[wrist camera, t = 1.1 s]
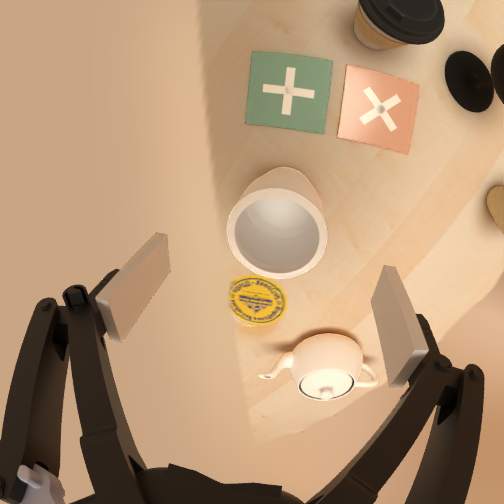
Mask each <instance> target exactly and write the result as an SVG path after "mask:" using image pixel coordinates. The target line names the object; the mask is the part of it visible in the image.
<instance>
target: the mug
mask: <svg viewBox="0 0 504 504" xmlns="http://www.w3.org/2000/svg"><path fill="white" fill-rule="evenodd" d="M486 202H487V207H488V209H489V211H490V213H491V215H492V216H493V218H494V220H495V222H496V224H497V226H498V227H499V229H500V230H501V232H502V233H503V234H504V187H502V186H495V187H493V188H492V189H491V190H490V191H489V193H488V195H487V200H486Z"/></svg>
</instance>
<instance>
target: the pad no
mask: <svg viewBox="0 0 504 504" xmlns="http://www.w3.org/2000/svg"><path fill="white" fill-rule="evenodd" d="M418 94H419V85H418V84H415V83H412V82H409V81H406V80H403V79H400V78H397V77H394V76H391V75H388V74H384V73H381V72H377V71H374V70H370V69H366V68H362V67H358V66H354V65H349V64H347V65H346V74H345V83H344V91H343V99H342V106H341V113H340V120H339V127H338V134H337V137H339V138H344V139H349V140H353V141H358V142H362V143H366V144H371V145H375V146H379V147H383V148H386V149H390V150H394V151H397V152H401V153H404V154H408V153H409V148H410V143H411V138H412V133H413V127H414V121H415V115H416V108H417V101H418Z"/></svg>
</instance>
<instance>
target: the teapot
mask: <svg viewBox="0 0 504 504" xmlns="http://www.w3.org/2000/svg"><path fill="white" fill-rule="evenodd" d="M283 368H290V374H291V377H292V379H293V381H294V383H295V385H296V387H297V389H298V391H299V392H300V393H301V394H302V395H304V396H305V397H307V398H310V399H313V400H321V401H326V400H334V399H338V398H341V397H343V396H345V395H347V394H348V393H350V392H351V391H352V390H353V388H354V387H374V386H376V385H377V384H378V382H379V378H378V375H377V373H376V372H375V371H374V370H373V369H372V368H371V367H369V366H368V365H366V364H365V363H363V353H362V350H361V348H360V346H359V345H358V344H357V343H356V342H355V341H353V340H352V339H350V338H349V337H346V336H344V335H339V334H332V333H324V334H318V335H315V336H312V337H309V338H307V339H305V340H303V341H302V342H301V343H299V344H298V345H297V346H296V347H295V348H294V350H293V351H292V352H288V353H285V354H283V355H282V356H281V357H279V359H278V360H277V362H276V364H275V366H274V367H273V369H272V370H271V371H269V372H268V373H265V374H261V375H259V377H260V378H264V379H272V378H274V377H276V376H277V375H278V373H279V372H280V370H281V369H283ZM361 370H364V371H365V372H366V373H368V374H369V376H370V377H371V378H372V381H358V378H359V376H360V374H361Z"/></svg>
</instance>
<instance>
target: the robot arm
mask: <svg viewBox="0 0 504 504" xmlns="http://www.w3.org/2000/svg"><path fill="white" fill-rule="evenodd" d="M169 273H170V262H169V252H168V239H167V234H162V233H155V234H154V235H153V236H152V237H151V238H150V239H149V240H148V241H147V242H146V243H145V245H144V246H142V247H141V249H140V250H139V251H138V252H137V253H136V254H135V255H134V256H133V257H132V258H131V259H130V260H129V261H128V262H127V263H126V264H125V265H124V266H123V267H122V268H121V270H119V269H115V270H113V271H111V272H110V273H108V274H107V275H106V276H105V278H103V280H102V281H101V282H100V283H99V284H98V285H97V286H96V287H95V288H94V289H93V290H92V291H91V293H90V294H89V295H88V293H87V290H86V287H84V286H83V285H73V286H70V287H68V288H67V289H66V290H65V291H64V292H63V295H62V297H63V299H64V302H65V305H66V306H58V304H57V302H56V300H55V299H54V298H45V299H42V300H41V301H40V302H39V303H38V304H37V305H36V307H35V310H34V312H33V315H32V318H31V320H30V323H29V326H28V328H27V331H26V334H25V337H24V340H23V343H22V346H21V349H20V353H19V356H18V359H17V363H16V366H15V370H14V374H13V378H12V382H11V386H10V390H9V395H8V399H7V405H6V410H5V415H4V422H3V428H2V437H1V440H0V499H1V500H2V501H5V502H7V503H9V504H65V502H64V500H63V497H64V496H65V491H64V489H63V487H62V484H61V482H60V480H59V479H58V476H59V469H60V443H61V422H62V409H63V398H64V390H65V382H66V375H67V368H68V362H69V357H70V361H71V370H72V378H73V385H74V392H75V398H76V403H77V409H78V414H79V419H80V423H81V428H82V433H83V436H81V437H80V445H81V449H82V453H83V457H84V460H85V464H86V467H87V470H88V474H89V477H90V480H91V483H92V486H93V489H94V491H95V494H92V495H90V496H88V497H85V498H83V499H80V500H78V501H75V502H72V503H70V504H304V503H303V502H302V501H301V500H300V499H298V498H297V497H295V496H294V495H292V494H290V493H287V492H285V491H282V486H277V485H267V484H260V483H239V484H223V483H220V482H217V481H215V480H213V479H211V478H209V477H207V476H205V475H203V474H201V473H199V472H197V471H194V470H190V469H187V468H184V467H180V466H177V465H173V464H169V466H168V468H166V467H162V468H161V467H159V468H151V469H147V467H146V466H145V463H144V461H143V460H142V458H141V456H140V454H139V453H138V450H137V448H136V446H135V443H134V440H133V437H132V435H131V432H130V429H129V426H128V423H127V421H126V418H125V415H124V412H123V408H122V405H121V402H120V399H119V395H118V392H117V388H116V385H115V381H114V377H113V374H112V370H111V366H110V362H109V357H108V353H107V349H106V344H105V340H104V337H103V335H104V334H105V333H106V331H107V333H108V335H109V338H110V339H111V340H114V341H117V342H120V343H122V342H123V340H124V339H125V338H126V336H127V334H128V333H129V331H130V330H131V328H132V327H133V325H134V324H135V322H136V321H137V319H138V318H139V316H140V315H141V313H142V312H143V310H144V309H145V307H146V306H147V304H148V303H149V302H150V300H151V299H152V297H153V296H154V294H155V293H156V292H157V290H158V289H159V287H160V286H161V284H162V283H163V282H164V280H165V279H166V277H167V276H168V274H169ZM371 305H372V309H373V313H374V317H375V321H376V325H377V329H378V334H379V338H380V343H381V347H382V352H383V357H384V362H385V367H386V373H387V378H388V383H389V387H403V386H404V385H405V383H406V382H407V381H408V382H409V386H410V387H409V388H408V389H407V390H406V392H405V393H404V394H403V395H402V396H401V398H400V401H399V402H398V404H397V405H396V406H395V408H394V409H393V411H392V412H391V413H390V414H389V416H388V417H387V418H386V420H385V421H384V422H383V424H382V425H381V426H380V428H379V429H378V430H377V431H376V433H375V434H374V435H373V436H372V438H371V439H370V440H369V441H368V442H367V443H366V445H365V446H364V447H363V448H362V449H361V450H360V451H359V453H358V454H357V455H356V456H355V457H354V458H353V459H352V460H351V461H350V462H349V463H348V465H347V466H346V467H345V468H344V469H343V470H342V471H341V472H340V473H339V474H338V475H337V476H336V477H335V478H334V479H333V480H332V481H331V482H330V483H329V484H328V485H326V486H325V487H324V488H323V489H322V490H321V491H320V492H318V493H317V494H316V495H315V496H313V497H312V498H311V499H310V500H309V501H307V502H306V503H305V504H373V503H374V502H375V501H376V499H377V497H378V492H379V491H380V489H381V488H382V487H383V485H384V484H385V483H386V481H387V480H388V479H389V478H390V477H391V475H392V474H393V473H394V471H395V470H396V468H397V467H398V466H399V464H400V463H401V461H402V460H403V458H404V457H405V456H406V454H407V453H408V451H409V449H410V448H411V447H412V445H413V444H414V442H415V440H416V439H417V437H418V435H419V434H420V432H421V431H422V429H423V427H424V425H425V424H426V422H427V420H428V418H429V416H430V415H431V413H432V411H433V409H434V407H435V406H436V405H437V408H436V413H435V416H434V421H433V424H432V428H431V432H430V436H429V439H428V443H427V446H426V449H425V452H424V455H423V458H422V461H421V464H420V467H419V470H418V472H417V475H416V478H415V480H414V483H413V485H412V488H411V490H410V493H409V495H408V497H407V499H406V502H405V504H464V503H465V500H466V497H467V493H468V490H469V486H470V482H471V478H472V474H473V470H474V466H475V461H476V456H477V450H478V445H479V438H480V431H481V423H482V413H483V401H484V400H483V399H484V373H483V372H482V370H481V369H480V368H479V367H478V366H477V365H475V364H469V365H467V366H466V368H465V369H464V370H462V369H458V368H455V367H452V363H451V362H450V360H449V359H448V358H447V357H446V356H444V355H442V354H440V352H439V349H438V346H437V344H436V341H435V338H434V336H433V333H432V331H431V330H430V326H429V323H428V321H427V320H426V319H425V318H424V316H423V315H422V314H415V311H414V309H413V306H412V304H411V302H410V299H409V297H408V294H407V292H406V290H405V288H404V285H403V283H402V281H401V279H400V276H399V274H398V272H397V270H396V268H395V267H393V266H386V265H384V266H383V269H382V272H381V275H380V278H379V281H378V283H377V286H376V289H375V291H374V294H373V297H372V299H371Z"/></svg>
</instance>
